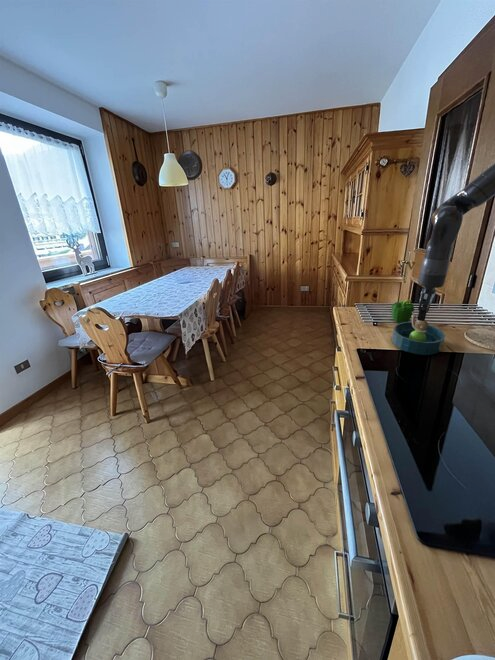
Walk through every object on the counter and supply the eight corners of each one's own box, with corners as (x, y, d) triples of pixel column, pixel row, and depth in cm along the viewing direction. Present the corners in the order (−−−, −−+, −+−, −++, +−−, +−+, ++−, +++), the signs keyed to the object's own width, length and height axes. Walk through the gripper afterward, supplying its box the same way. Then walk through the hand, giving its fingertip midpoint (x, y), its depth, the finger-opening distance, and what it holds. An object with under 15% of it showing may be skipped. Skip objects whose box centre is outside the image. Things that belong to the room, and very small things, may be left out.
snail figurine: (410, 337, 109) (417, 309, 103) (427, 344, 104) (435, 315, 98) (402, 342, 107) (408, 313, 101) (418, 349, 102) (426, 319, 96)
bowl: (443, 340, 107) (447, 328, 104) (437, 361, 96) (441, 347, 93) (397, 330, 116) (399, 318, 113) (386, 348, 105) (389, 335, 102)
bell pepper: (385, 321, 124) (389, 299, 119) (395, 315, 128) (399, 294, 124) (405, 327, 118) (410, 305, 113) (414, 321, 122) (419, 299, 118)
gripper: (444, 278, 86) (432, 325, 93) (449, 266, 96) (438, 310, 103) (416, 275, 90) (406, 321, 97) (424, 264, 100) (414, 306, 107)
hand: (422, 315), depth 100 cm, fingers open, 8 cm apart
